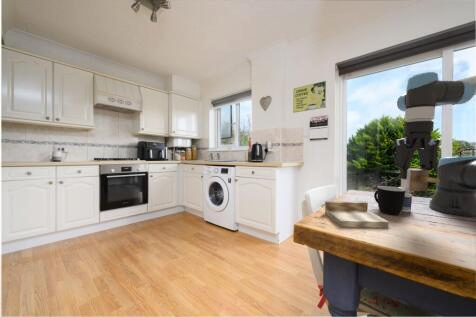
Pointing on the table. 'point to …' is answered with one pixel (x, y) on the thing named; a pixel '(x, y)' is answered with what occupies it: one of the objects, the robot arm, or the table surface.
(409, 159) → the robot arm
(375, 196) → the mug
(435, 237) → the table surface
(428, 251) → the table surface
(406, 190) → the pill bottle
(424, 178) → the block
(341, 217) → the board
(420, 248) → the table surface
